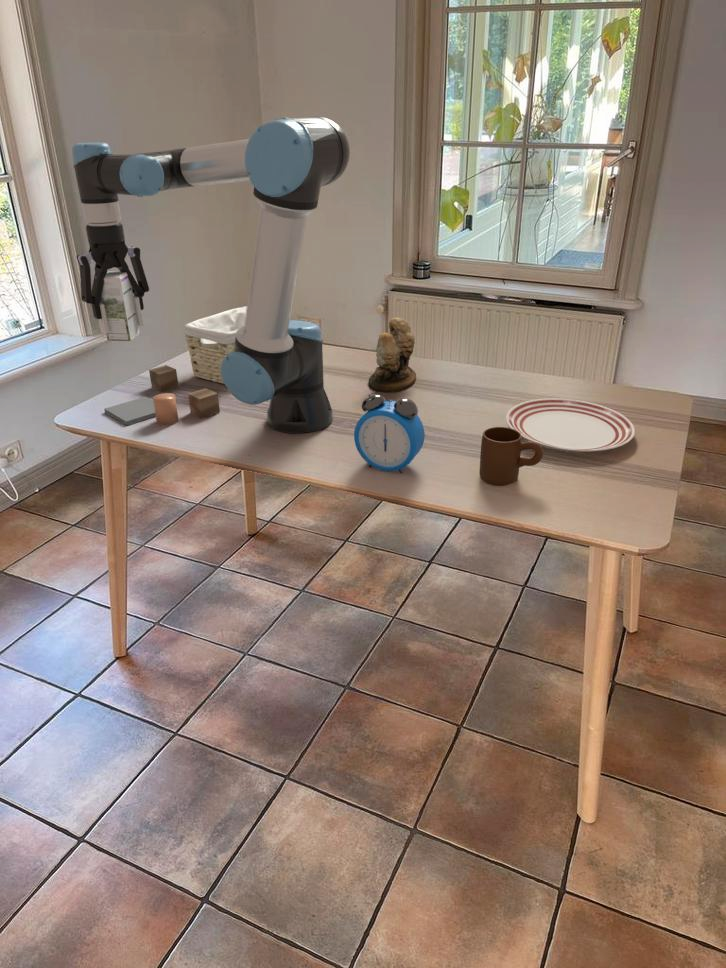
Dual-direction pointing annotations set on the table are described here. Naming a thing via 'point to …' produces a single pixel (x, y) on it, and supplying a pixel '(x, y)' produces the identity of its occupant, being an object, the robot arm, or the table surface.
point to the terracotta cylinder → (165, 409)
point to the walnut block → (204, 403)
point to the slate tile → (133, 411)
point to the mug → (505, 455)
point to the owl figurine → (394, 358)
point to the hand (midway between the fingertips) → (122, 328)
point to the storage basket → (213, 341)
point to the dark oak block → (163, 378)
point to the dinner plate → (570, 425)
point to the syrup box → (119, 307)
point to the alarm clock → (389, 432)
